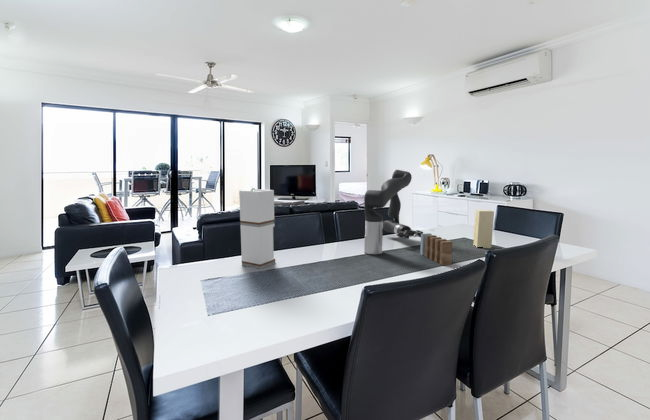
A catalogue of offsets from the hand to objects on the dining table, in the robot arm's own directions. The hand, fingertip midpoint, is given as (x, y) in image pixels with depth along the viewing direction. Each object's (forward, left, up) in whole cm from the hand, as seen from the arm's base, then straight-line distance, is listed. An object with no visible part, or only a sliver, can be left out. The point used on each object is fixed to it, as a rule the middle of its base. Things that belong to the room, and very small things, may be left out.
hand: (415, 236), depth 188 cm
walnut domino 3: (+10, -22, -7) cm, 26 cm away
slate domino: (+5, -10, -7) cm, 13 cm away
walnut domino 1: (+7, -14, -7) cm, 17 cm away
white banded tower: (-74, -43, -7) cm, 86 cm away
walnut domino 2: (+8, -18, -7) cm, 21 cm away
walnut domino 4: (+12, -26, -7) cm, 30 cm away
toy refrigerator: (+38, +14, -7) cm, 41 cm away
